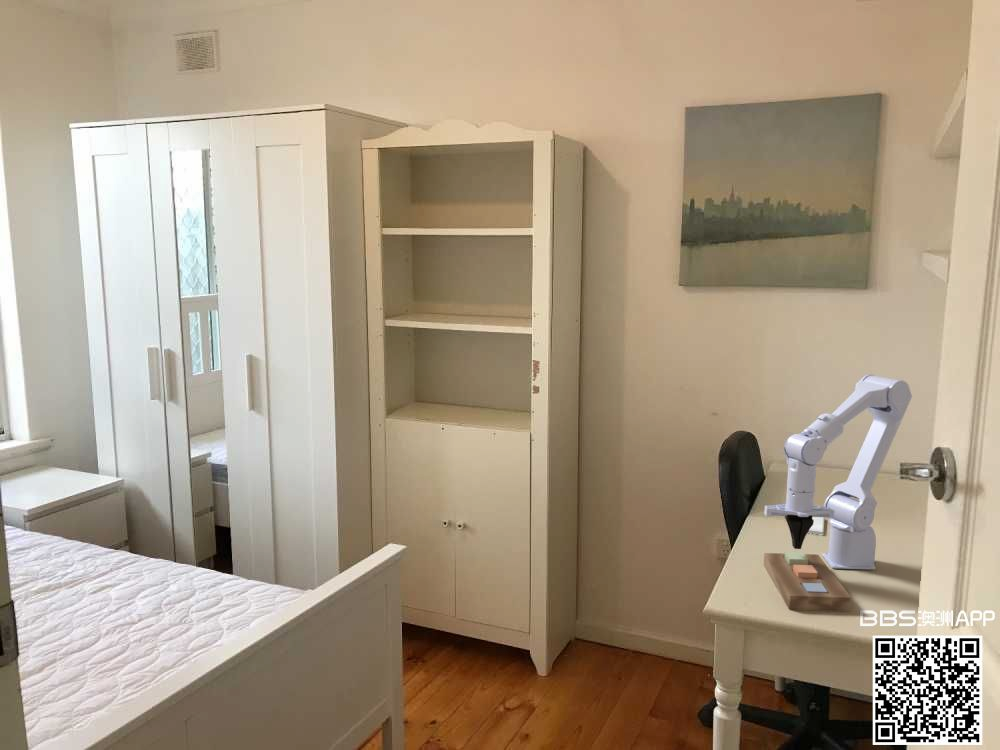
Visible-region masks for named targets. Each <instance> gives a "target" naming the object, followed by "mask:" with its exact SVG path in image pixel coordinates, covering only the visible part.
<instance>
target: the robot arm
mask: <svg viewBox="0 0 1000 750" xmlns="http://www.w3.org/2000/svg"><path fill="white" fill-rule="evenodd" d="M855 383H856V384H855V388H854V391H853V392H852V393H851V394H850V395H849V396H848V397H847V398H846V399H845V400H844V401H843V402H841V404H840V405H839V406H838V407H837V408H836V409H835V410H834V411H833V412H832V413H823V414H822V413H821V414H820V415H819V416H818V417H817V419H816V420H814V421H813V422H812V423H811V424H810V425H809V426H808V427H806V428H805V429H803V431H802V432H800V433H795V434H792V435H790V436H788V437H787V440H786V441H785V443H784V446H783V447H782V451H783V454H784V455H785V458H786V465H787V478H786V479H787V481H786V496H785V498H786V499H785V503H783V504H774V505H764V512H763V513H764V515H765V517H767V518H768V517H773V516H774V517H784V519H785V521H786V523H787V526H788V530H789V529H790V531H789V532H790V536H791V543H792V547H793V549H795V550H801V549H802V546H803V544H804V540H805V538H806V536H807V535H808V534H807V533H808V531H809V529H810V528H811V527H812V525H813V523H814V520H813V519H812V517H824V518H828V520H827V522H828V523H830V526H829V541H828V552H822V555H821V556H823V558H824V559H825V561H826V562H827V563H828V564H829V566H830V567H831V568H832V569H841V570H842V569H843V570H844V569H846V570H848V569H849V570H876V566H875V558H876V547H877V546H876V545H877V538H876V532H875V529H874V528H873V527H872V526H871V525H872V524H873V521H874V519H875V510H876V508H877V505H878V501H877V500H876V498H875V496H874V495H873V492H872V488H873V486H874V485H875V483H876V479H877V478H878V475H879V473H880V471H881V469H882V466H883V464H884V461H885V459H886V457H887V455H888V452H889V450H890V448H891V446H892V443H893V441H894V439H895V437H896V434H897V433H898V430H899V428H900V425H901V424H902V420H903V418H904V416H905V413H906V411H907V410H908V406H909V404H910V402H911V400H912V397H913V396H912V393H911V392H912V391H911V388H910V386H909V383H907V381H905V380H902V379H898V380H897V379H893V378H889V377H884V376H877V375H875V374H872V373H871V374H870V373H869V374H866V375H864V376H862V378H861V379H860V380H859V381H857V382H855ZM865 410H867V411H868V412H869V413H870V414H871V416H872V419H873V421H872V423H871V425H870V428H869V430H868V431H867V434H866V435H865V439H864V440H863V444H862V446H861V447H860V450H859V452H858V455H857V457H856V459H855V461H854V464H853V466H852V467H851V470H850V473H849V474H848V477H847V480H846V481H843V482H842V483H839V484H837V485H835V486H834V488H833V490H832V491H831V493H830V494H829V495H828V496H827V497H826V499H825V501H824V503H823V506H820V505H814V503H815V488H816V473H817V464H818V463H819V462H821V460H822V459H823V457H824V454H825V452H826V451H827V450H828V446H829V445H831V444H832V443H833V442H834V441H835V440H837V438H839V437H840V436H841V435H843V433H844V429H845V427H844V426H845V425H846V424H847V423H849V422H850V421H852V420H853V419H855V418H856V417H857V416H858V415H860V414H861V413H863V412H864V411H865ZM854 498H855V499H854ZM857 499H858V500H857Z"/></svg>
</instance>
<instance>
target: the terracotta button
mask: <svg viewBox="0 0 1000 750" xmlns="http://www.w3.org/2000/svg"><path fill="white" fill-rule="evenodd" d="M793 573H794V574H795V576H796V577H797V578H810V579H817V575H818V573H817V571H816V570H815V568H814V567H813V566H812V565H793Z"/></svg>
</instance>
